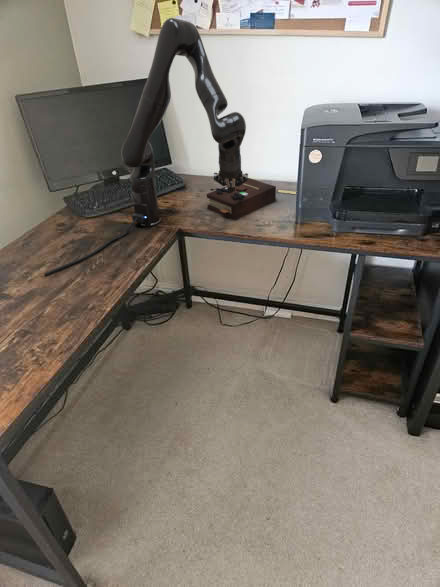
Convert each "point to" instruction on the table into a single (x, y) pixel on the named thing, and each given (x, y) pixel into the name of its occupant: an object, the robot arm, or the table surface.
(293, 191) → the tape mark
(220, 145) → the robot arm
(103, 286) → the table surface
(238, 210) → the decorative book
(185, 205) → the table surface
